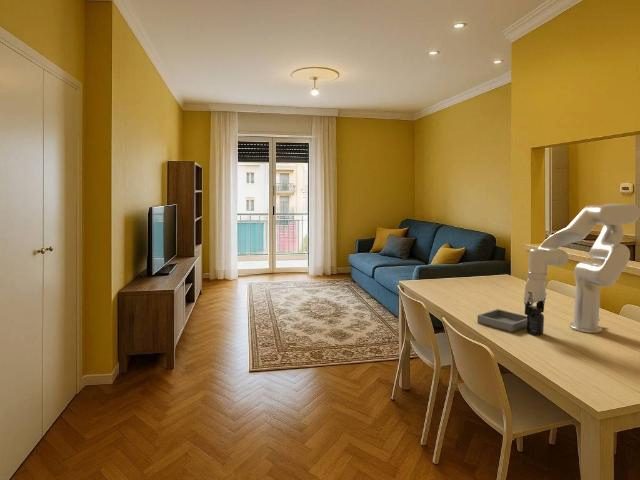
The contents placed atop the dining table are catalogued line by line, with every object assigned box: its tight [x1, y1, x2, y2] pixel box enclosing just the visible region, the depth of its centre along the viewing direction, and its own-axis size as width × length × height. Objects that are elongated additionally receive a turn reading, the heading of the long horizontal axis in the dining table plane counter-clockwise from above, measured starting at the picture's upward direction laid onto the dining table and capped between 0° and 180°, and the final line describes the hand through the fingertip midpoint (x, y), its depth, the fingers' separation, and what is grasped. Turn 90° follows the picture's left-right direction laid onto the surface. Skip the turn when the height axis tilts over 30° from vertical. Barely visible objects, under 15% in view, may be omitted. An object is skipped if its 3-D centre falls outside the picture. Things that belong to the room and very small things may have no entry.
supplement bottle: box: [526, 305, 545, 336], centre depth 182 cm, size 7×7×12 cm
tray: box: [476, 308, 527, 334], centre depth 195 cm, size 17×18×4 cm
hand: (534, 313), depth 182 cm, fingers open, 9 cm apart
